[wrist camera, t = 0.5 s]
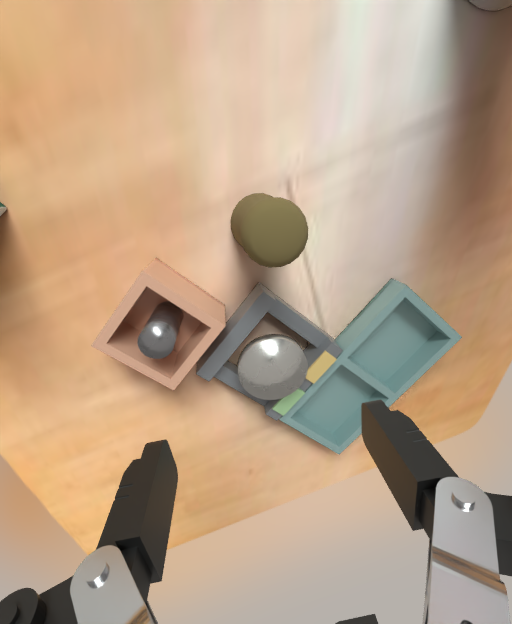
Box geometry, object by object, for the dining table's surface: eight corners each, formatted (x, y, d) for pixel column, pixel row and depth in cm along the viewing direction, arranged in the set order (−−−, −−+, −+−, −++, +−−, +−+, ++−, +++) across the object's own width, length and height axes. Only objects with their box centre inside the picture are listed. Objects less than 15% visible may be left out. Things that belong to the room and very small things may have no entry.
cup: (156, 257, 31) (142, 270, 26) (224, 304, 34) (225, 325, 28) (112, 321, 33) (90, 345, 28) (180, 360, 36) (173, 390, 30)
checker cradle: (258, 282, 33) (263, 292, 30) (332, 337, 37) (343, 351, 34) (198, 358, 36) (195, 375, 33) (272, 402, 40) (277, 422, 36)
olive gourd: (290, 246, 32) (322, 268, 22) (236, 257, 32) (244, 284, 22) (282, 188, 30) (315, 182, 20) (225, 199, 30) (228, 199, 20)
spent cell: (163, 295, 32) (149, 320, 26) (188, 312, 33) (181, 339, 27) (148, 317, 33) (130, 347, 26) (172, 332, 34) (161, 364, 27)
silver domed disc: (263, 312, 33) (268, 325, 30) (312, 347, 35) (321, 363, 32) (223, 361, 35) (223, 378, 31) (272, 390, 37) (277, 410, 34)
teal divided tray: (391, 278, 35) (406, 284, 32) (444, 327, 39) (462, 337, 36) (275, 404, 40) (279, 419, 37) (331, 438, 43) (339, 454, 41)
